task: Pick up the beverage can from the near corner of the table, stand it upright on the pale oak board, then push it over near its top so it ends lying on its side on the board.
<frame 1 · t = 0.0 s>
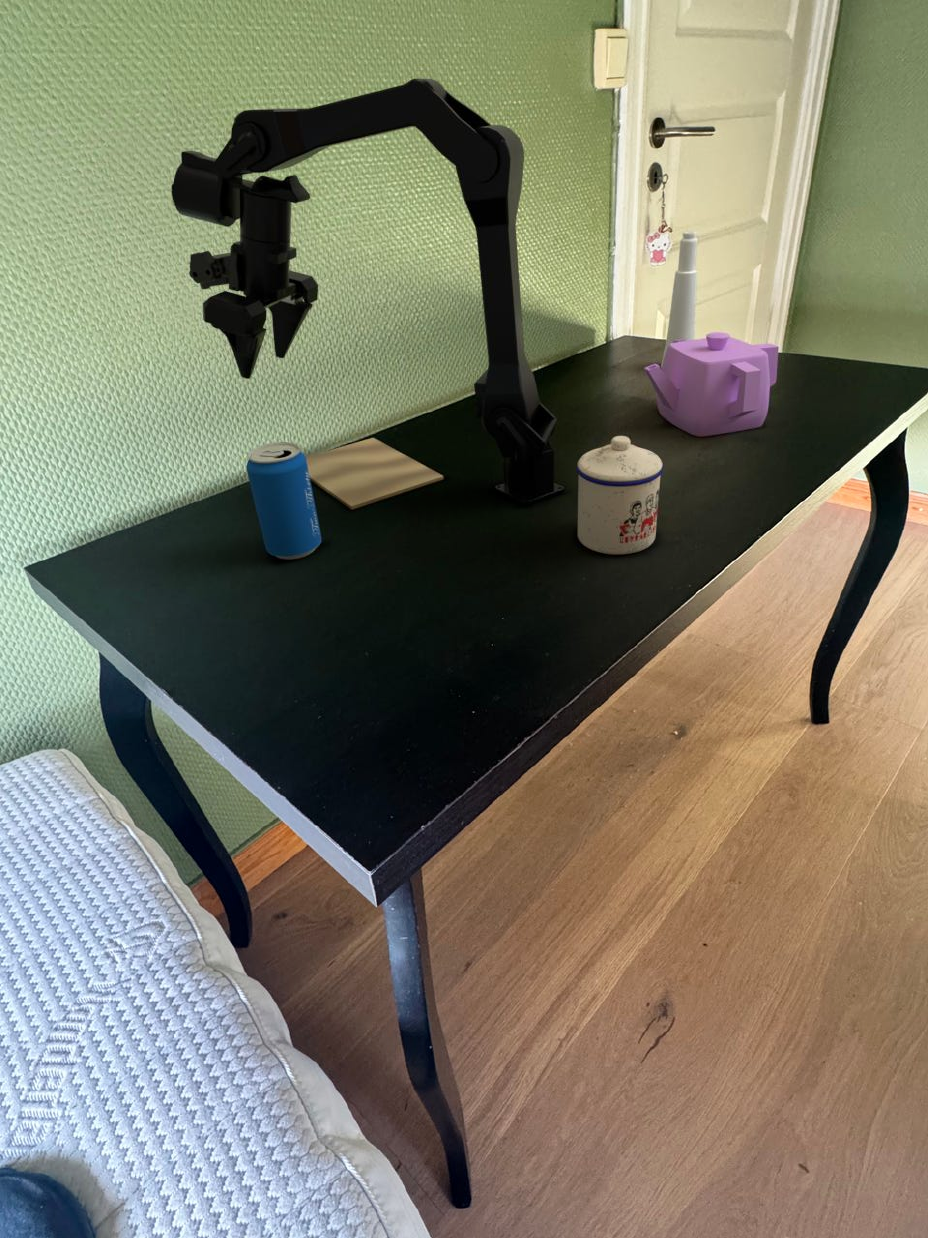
hand: (263, 367, 98), 15 cm above the table, tool pointing down, fingers open, 9 cm apart
board: (363, 471, 107), on the table
teacup with lid: (622, 534, 87), on the table
beverage can: (295, 550, 89), on the table
cosmetic bottle: (677, 368, 138), on the table
teakettle: (703, 419, 116), on the table
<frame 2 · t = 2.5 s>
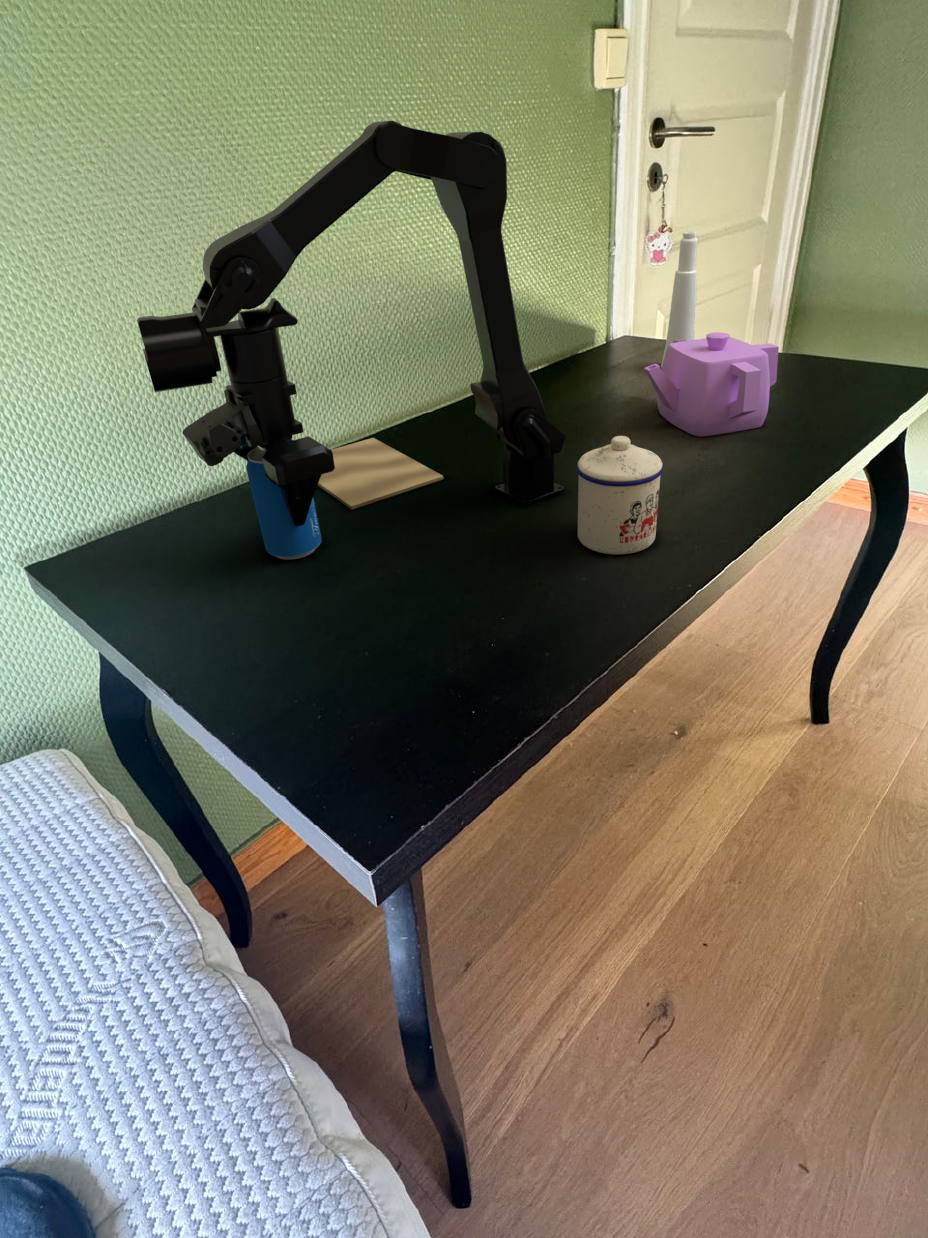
hand: (286, 513, 86), 5 cm above the table, tool pointing down, fingers closed on beverage can, 7 cm apart
beverage can: (295, 550, 89), on the table, touching gripper
everything else where it was.
when the fingers open (5 cm above the table, at t = 8.6 s): beverage can stays where it is, resting on board.
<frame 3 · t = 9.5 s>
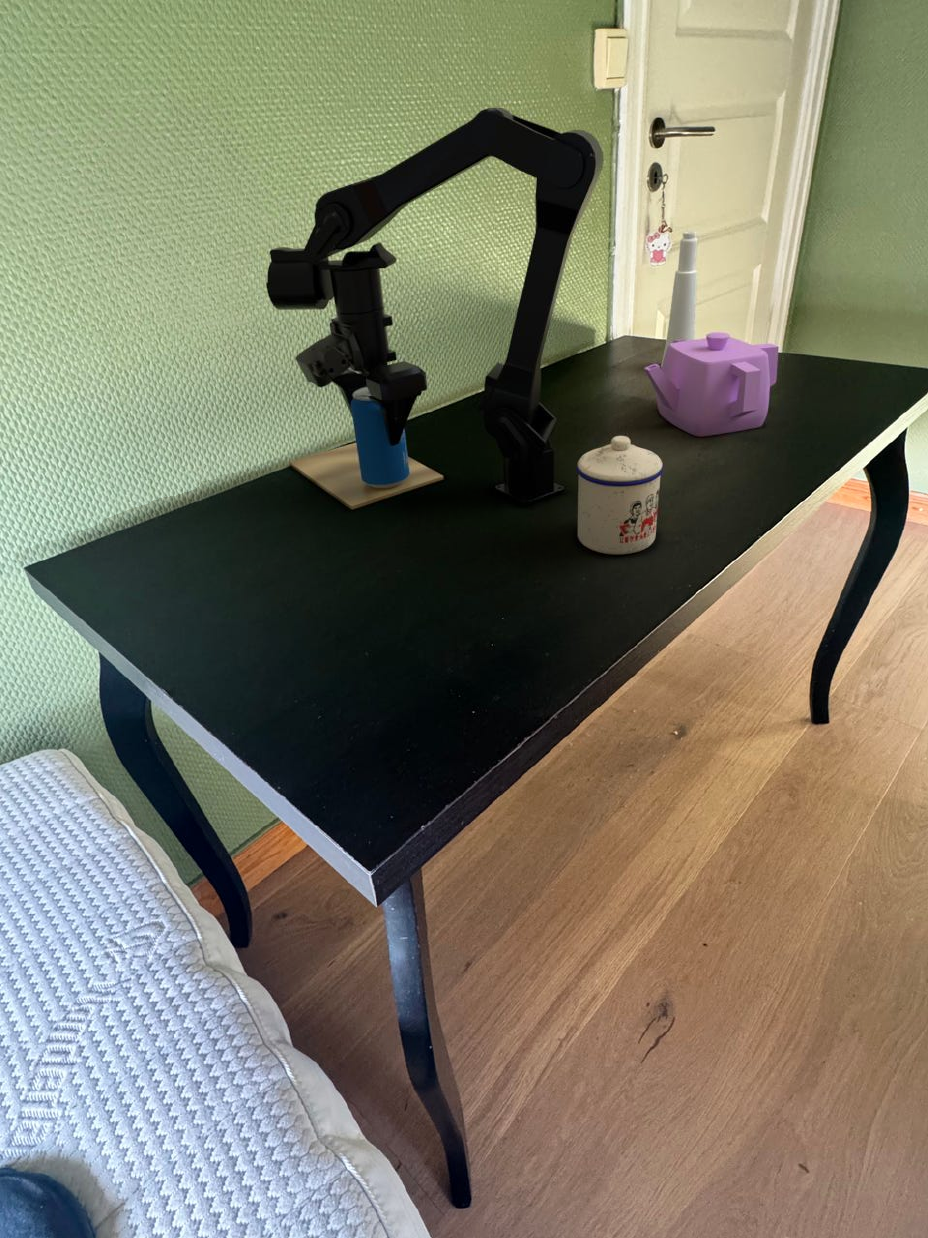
hand: (377, 435, 99), 7 cm above the table, tool pointing down, fingers open, 9 cm apart
beverage can: (386, 482, 103), resting on board
everything else where it was.
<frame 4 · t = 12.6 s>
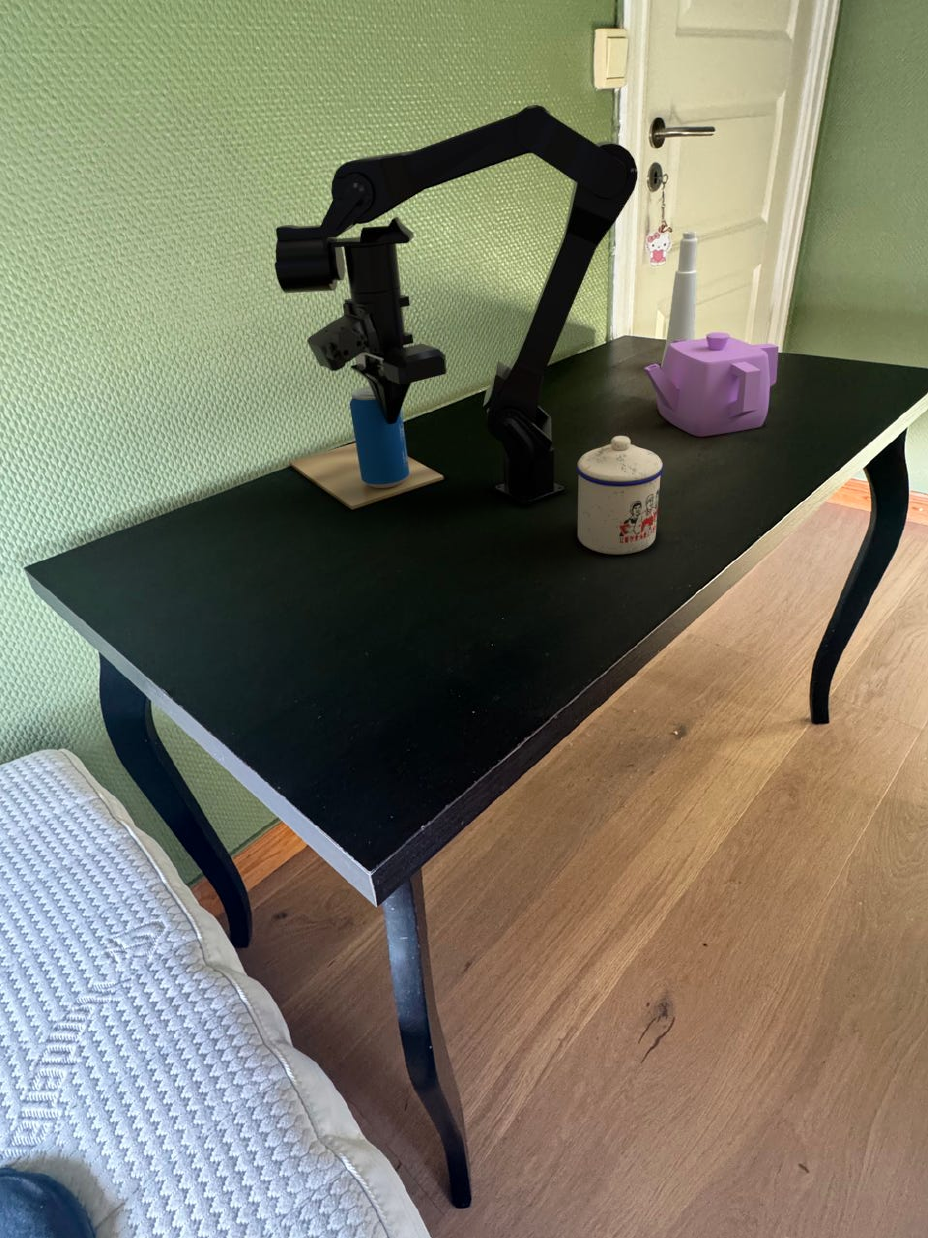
hand: (391, 423, 94), 10 cm above the table, tool pointing down, fingers closed
beverage can: (386, 482, 103), resting on board, touching gripper
everything else where it was.
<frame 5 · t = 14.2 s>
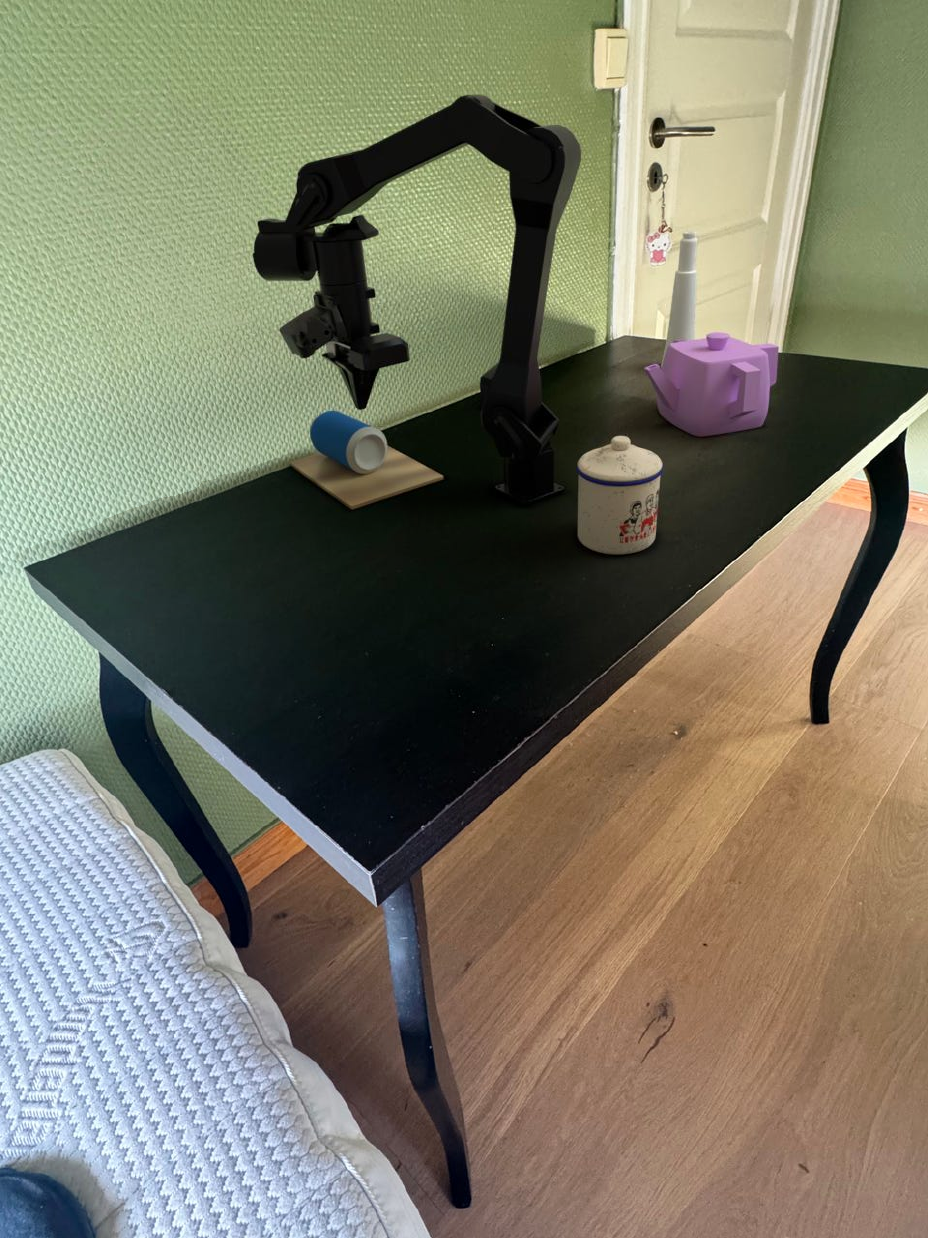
hand: (361, 408, 100), 10 cm above the table, tool pointing down, fingers closed
beverage can: (371, 452, 103), point 4 cm above the table, touching board
everything else where it was.
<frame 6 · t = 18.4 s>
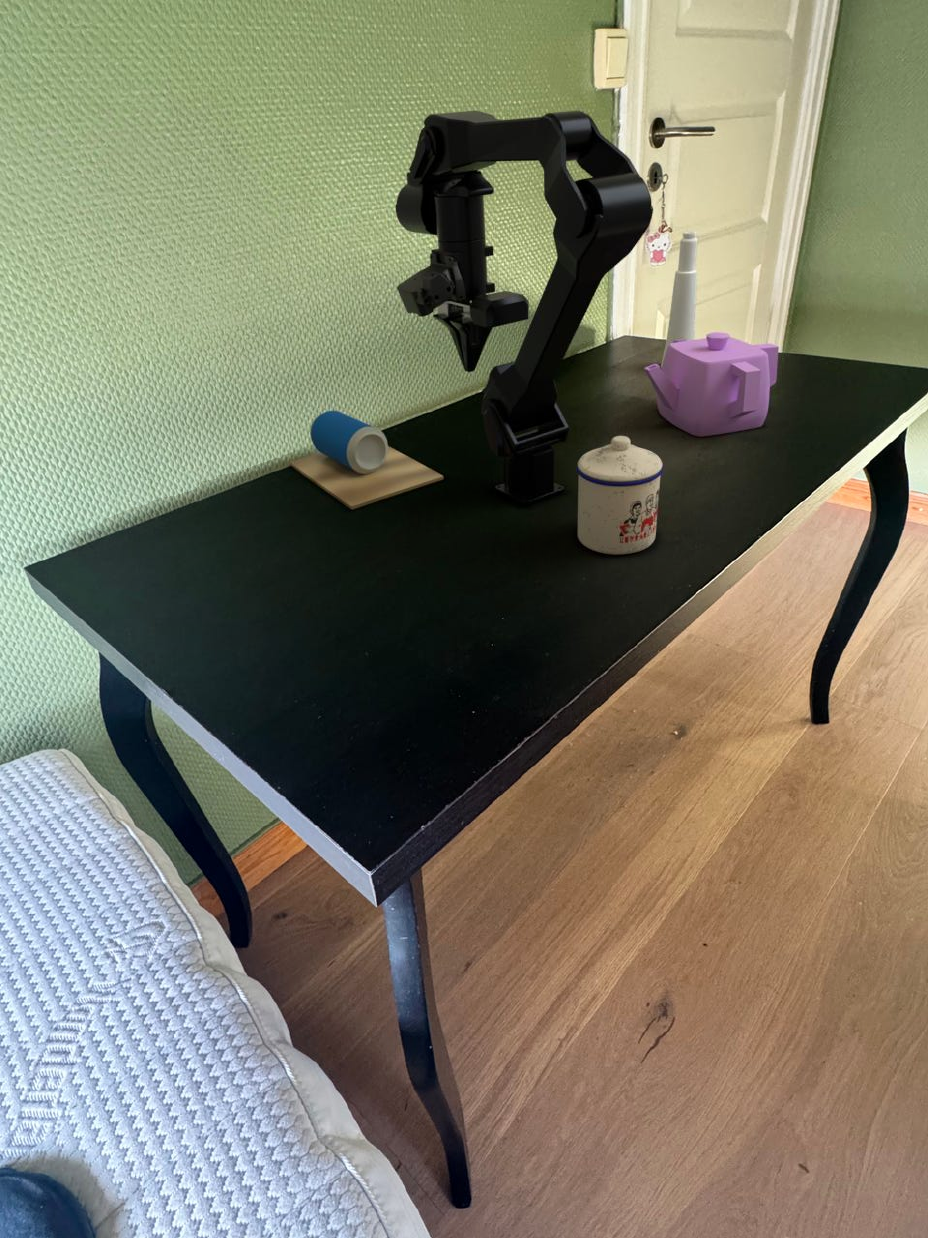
hand: (469, 371, 99), 13 cm above the table, tool pointing down, fingers closed
nothing on the table moved.
at the end: beverage can tilted 90°; beverage can inside the target area on the board (3.1 cm from its centre), point 3.7 cm above the board's base; the gripper is holding nothing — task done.
